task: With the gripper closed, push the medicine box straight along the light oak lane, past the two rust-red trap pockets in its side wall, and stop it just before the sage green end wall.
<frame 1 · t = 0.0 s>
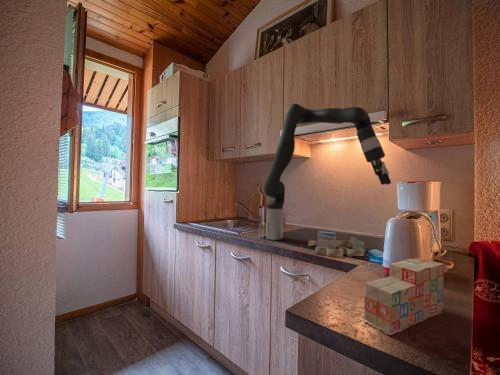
hand: (386, 184, 104), 31 cm above the countertop, tool tilted 20°, fingers open, 8 cm apart
stack of blocks: (405, 318, 58), on the countertop
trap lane: (335, 250, 116), on the countertop
medicine box: (326, 250, 116), on the countertop
supplement box: (402, 269, 91), on the countertop
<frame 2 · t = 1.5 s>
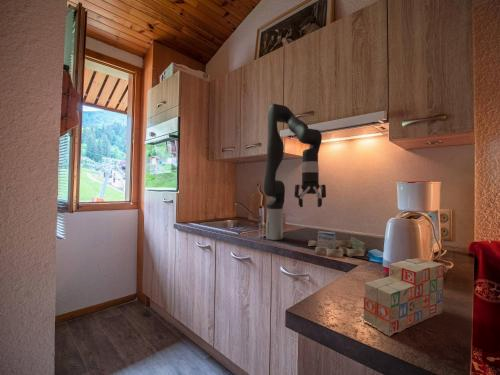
hand: (310, 207, 113), 21 cm above the countertop, tool pointing down, fingers open, 8 cm apart
nothing on the countertop moved.
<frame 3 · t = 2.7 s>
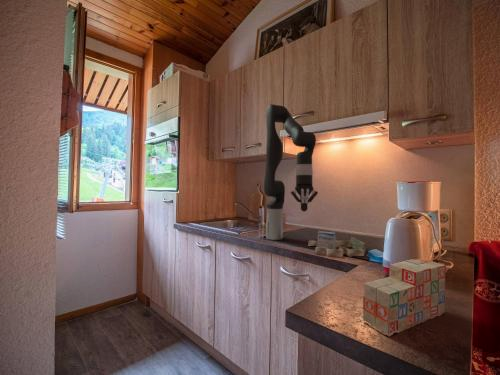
hand: (303, 211, 115), 19 cm above the countertop, tool pointing down, fingers closed
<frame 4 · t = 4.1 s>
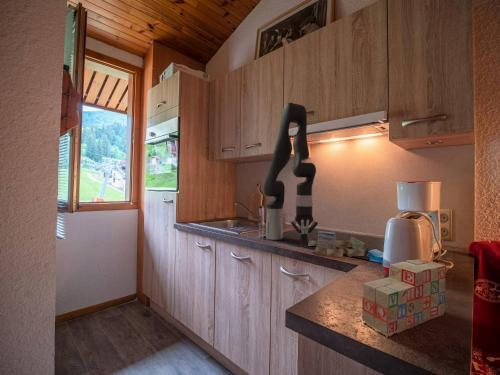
hand: (303, 241, 115), 4 cm above the countertop, tool pointing down, fingers closed
nothing on the countertop moved.
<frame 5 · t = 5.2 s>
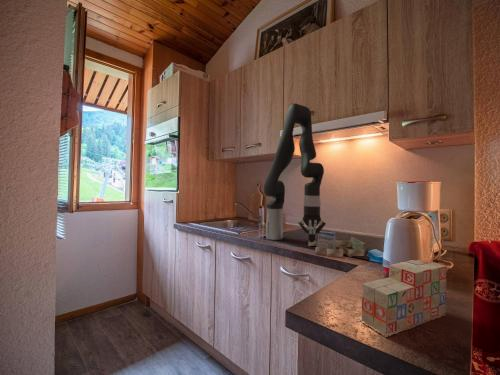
hand: (311, 241, 115), 4 cm above the countertop, tool pointing down, fingers closed
medicine box: (326, 250, 116), on the countertop, touching gripper
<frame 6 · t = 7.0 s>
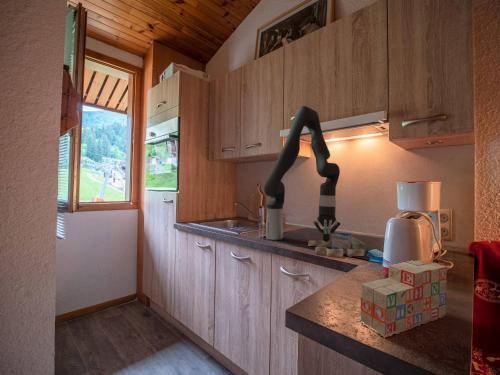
hand: (325, 241, 116), 4 cm above the countertop, tool pointing down, fingers closed
medicine box: (341, 250, 116), on the countertop, touching gripper, hand
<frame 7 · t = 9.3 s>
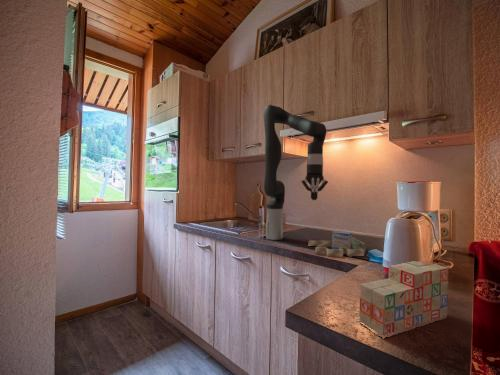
hand: (313, 199, 118), 24 cm above the countertop, tool pointing down, fingers closed
medicine box: (341, 250, 116), on the countertop
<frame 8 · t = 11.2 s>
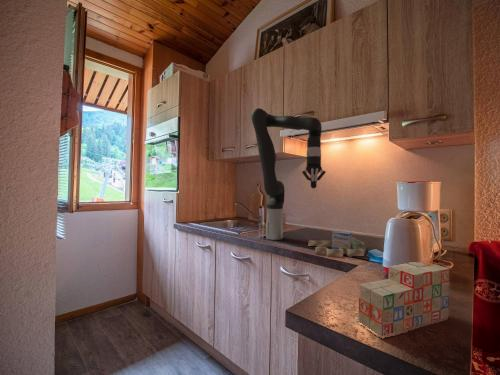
hand: (313, 188, 132), 29 cm above the countertop, tool pointing down, fingers closed
at the end: medicine box inside the target area (2.2 cm from its centre), on the countertop; medicine box tilted 0° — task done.
